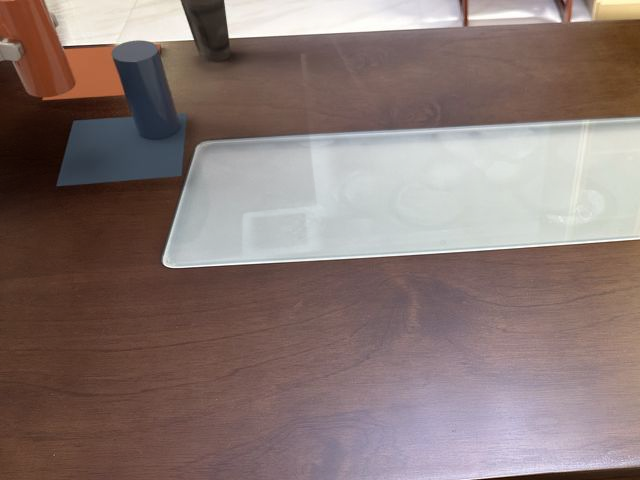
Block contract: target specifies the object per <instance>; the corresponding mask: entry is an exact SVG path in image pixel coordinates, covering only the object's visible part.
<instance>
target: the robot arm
mask: <svg viewBox="0 0 640 480" xmlns="http://www.w3.org/2000/svg"><path fill="white" fill-rule="evenodd" d="M49 12H50V15H51V18H52V20H53V23H54V25H55V28H56V29H57V27H58V26H59V22H58V20H57V17H56V14H55V13H54V12H52V11H51V10H49ZM25 53H26V52H25V50H24V49H23V45H22V43H21V42H20V41H19V40H17V39H9V38H4V39H3V40H2V38H1V36H0V62H3V61H10V62H12V61H18V60H20V59H21V58H22V57H23V56H24V55H25Z"/></svg>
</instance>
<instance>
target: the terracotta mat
mask: <svg viewBox="0 0 640 480" xmlns="http://www.w3.org/2000/svg"><path fill="white" fill-rule="evenodd" d="M154 44H155V45H156V46H157V47H158V50H159V53H160V54H161V51H162V46H161V43H154ZM116 46H117V45H116ZM116 46H115V45H114V46H98V47H97V46H96V47H79V48H76V47H75V48H64V51H65V53H66V56H67V59H68V61H69V64H70V66H71V69H72V71H73V74H74V76H75V79H76V84H75V86H74V87H73V88H72V89H71V90H70V91H68V92H66V93H64V94H61V95H58V96H54V97H42V101H55V100H56V101H57V100H69V99H70V100H71V99H85V98H86V99H87V98H101V97H103V98H104V97H117V96H118V97H119V96H125V94H124V91H123V88H122V85H121V82H120V79H119V76H118V73H117V70H116V67H115V64H114V62H113V59H112V56H111V52H112V50H113V49H114V48H115V47H116Z"/></svg>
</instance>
